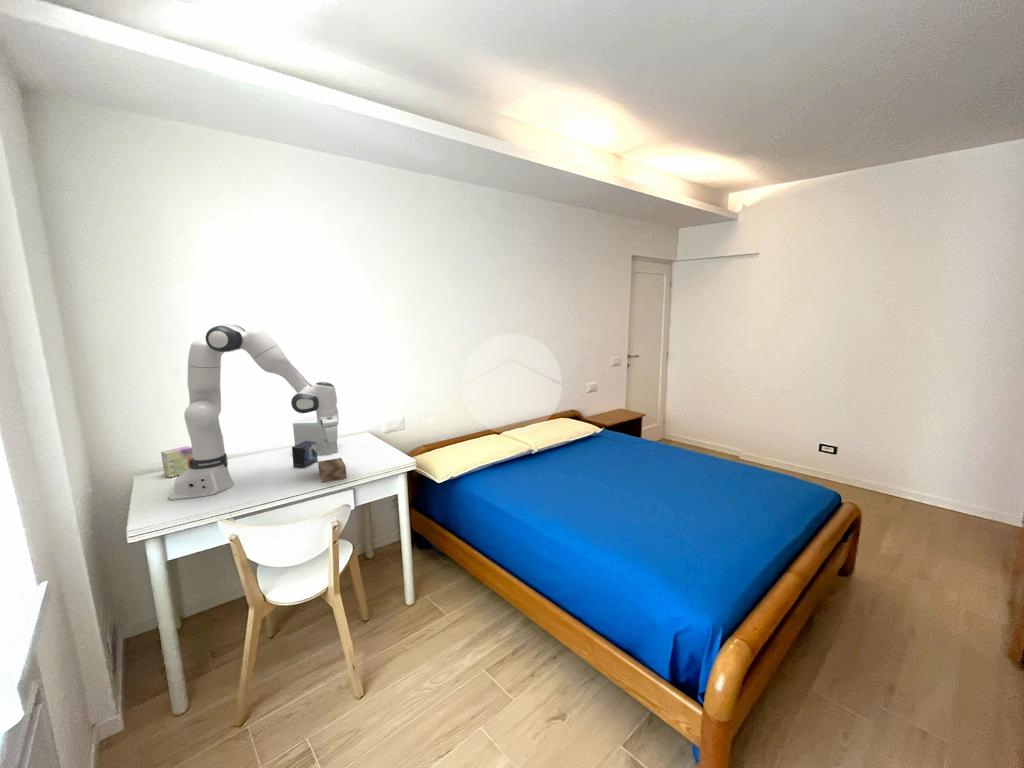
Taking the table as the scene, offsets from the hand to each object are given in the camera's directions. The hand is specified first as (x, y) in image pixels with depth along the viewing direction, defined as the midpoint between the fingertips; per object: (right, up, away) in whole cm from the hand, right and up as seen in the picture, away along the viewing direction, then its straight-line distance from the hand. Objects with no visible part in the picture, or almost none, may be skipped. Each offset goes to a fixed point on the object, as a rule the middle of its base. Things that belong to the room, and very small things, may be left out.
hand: (330, 447), depth 192 cm
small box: (-20, -11, +18) cm, 29 cm away
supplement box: (-23, -8, +36) cm, 44 cm away
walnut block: (0, -13, +2) cm, 14 cm away
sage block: (0, -2, 0) cm, 2 cm away
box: (-74, -14, +7) cm, 75 cm away
